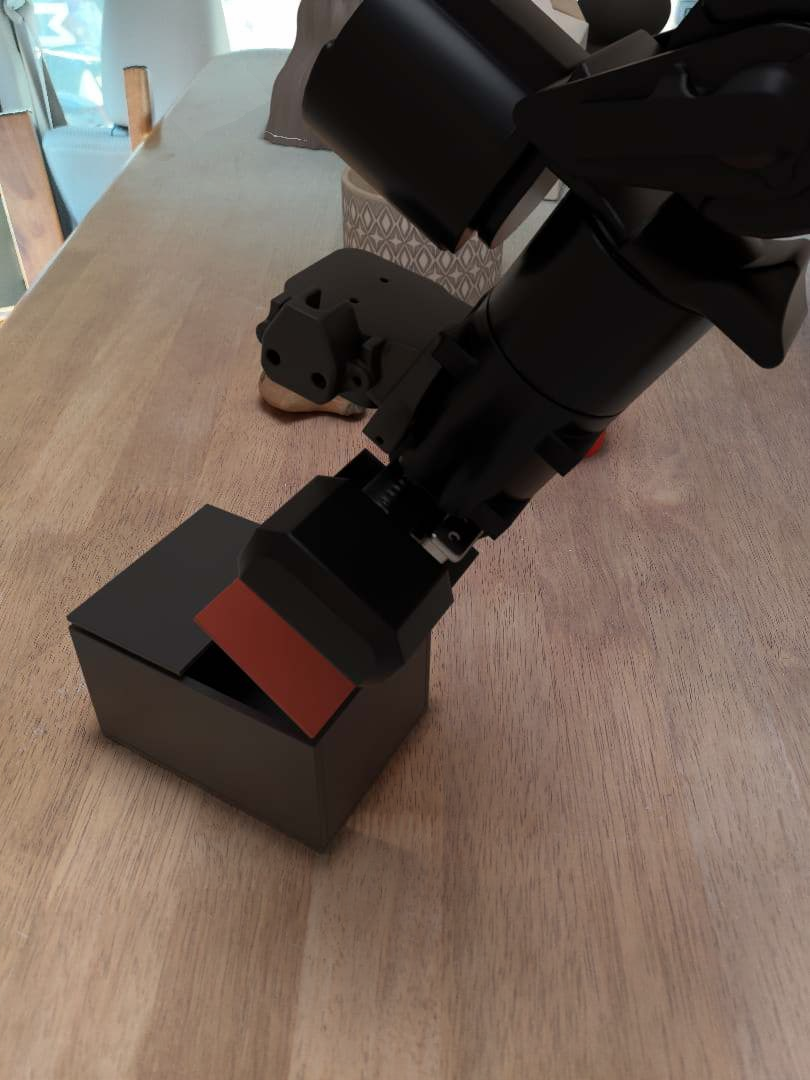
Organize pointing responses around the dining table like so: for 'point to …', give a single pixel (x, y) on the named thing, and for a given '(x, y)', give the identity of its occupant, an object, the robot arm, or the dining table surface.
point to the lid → (275, 657)
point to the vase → (622, 19)
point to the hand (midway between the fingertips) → (357, 573)
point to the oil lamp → (301, 399)
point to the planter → (414, 243)
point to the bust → (304, 70)
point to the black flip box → (229, 692)
